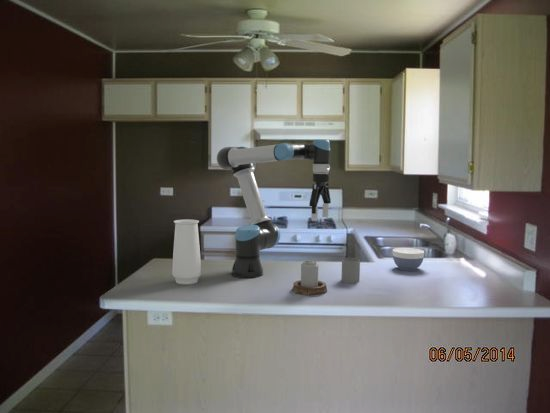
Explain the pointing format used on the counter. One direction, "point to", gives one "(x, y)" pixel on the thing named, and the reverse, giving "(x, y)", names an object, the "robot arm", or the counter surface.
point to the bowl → (408, 258)
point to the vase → (186, 252)
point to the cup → (350, 270)
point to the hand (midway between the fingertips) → (319, 218)
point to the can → (309, 273)
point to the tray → (310, 289)
